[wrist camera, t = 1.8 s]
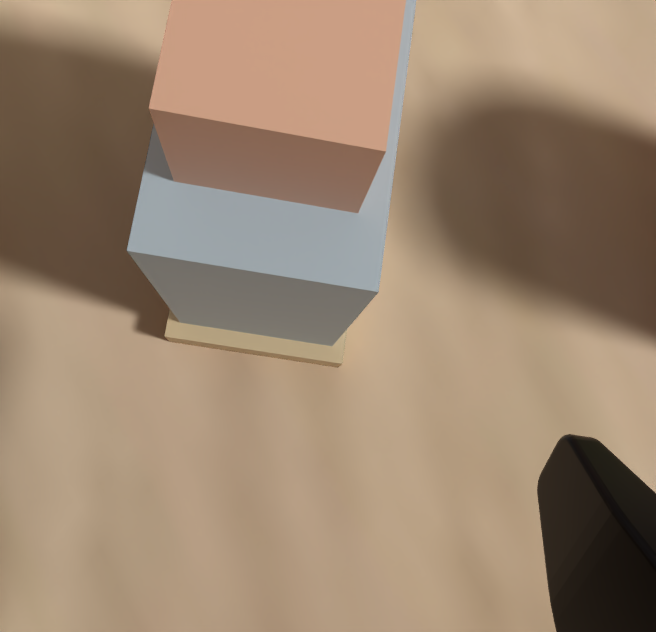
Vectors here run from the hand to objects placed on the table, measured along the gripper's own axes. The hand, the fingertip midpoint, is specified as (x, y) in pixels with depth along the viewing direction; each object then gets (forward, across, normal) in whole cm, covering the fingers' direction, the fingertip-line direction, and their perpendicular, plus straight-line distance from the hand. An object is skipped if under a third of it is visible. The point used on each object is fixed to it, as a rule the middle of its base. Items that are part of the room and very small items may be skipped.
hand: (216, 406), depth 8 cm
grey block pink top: (+14, 0, +4) cm, 14 cm away
